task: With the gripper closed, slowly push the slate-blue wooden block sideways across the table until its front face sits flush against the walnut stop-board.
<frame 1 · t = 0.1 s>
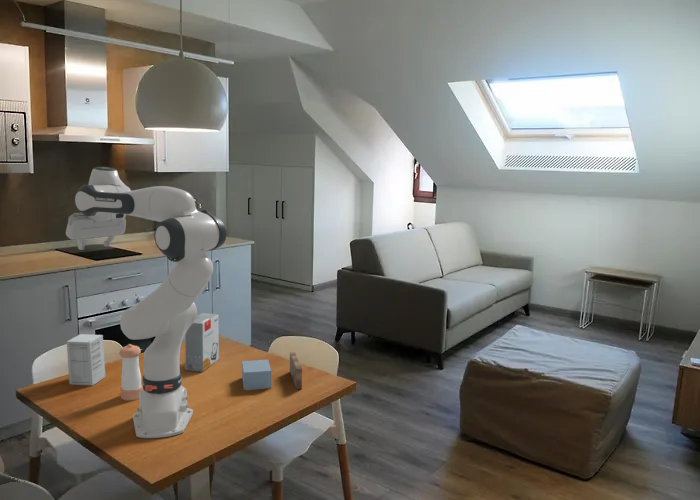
hand: (94, 247, 199), 52 cm above the table, tool tilted 20°, fingers open, 8 cm apart
supplement box: (87, 381, 213), on the table
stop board: (295, 379, 218), on the table
pepper shaker: (132, 396, 200), on the table
slate block: (256, 383, 214), on the table
hard drive box: (202, 365, 231), on the table
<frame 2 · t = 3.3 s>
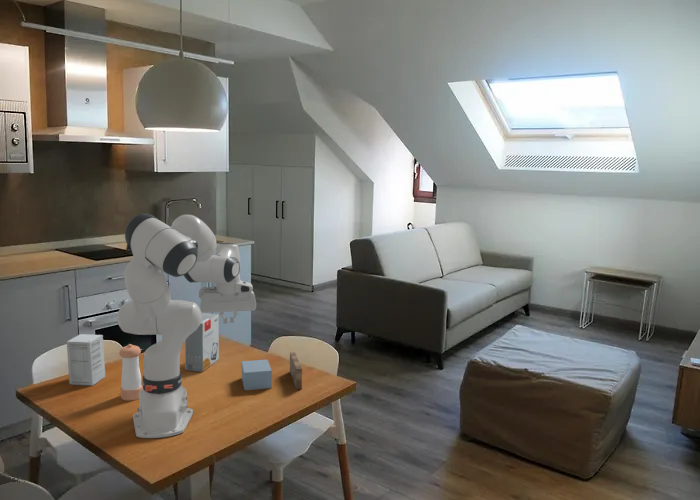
hand: (228, 322, 208), 24 cm above the table, tool pointing down, fingers closed
nothing on the table moved.
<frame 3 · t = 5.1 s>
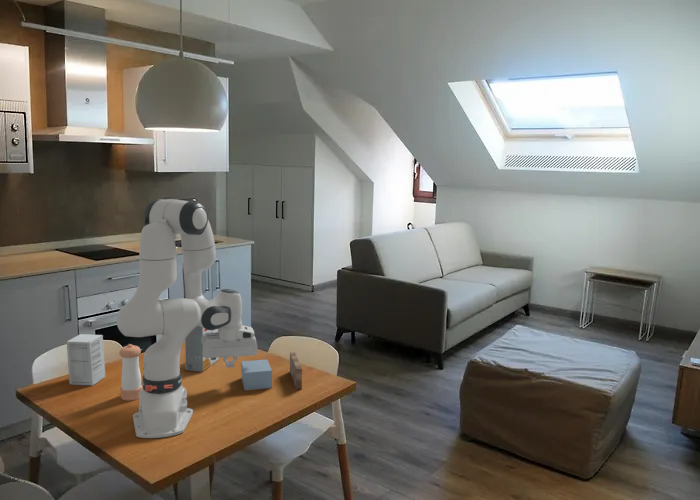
hand: (230, 366, 211), 7 cm above the table, tool pointing down, fingers closed
nothing on the table moved.
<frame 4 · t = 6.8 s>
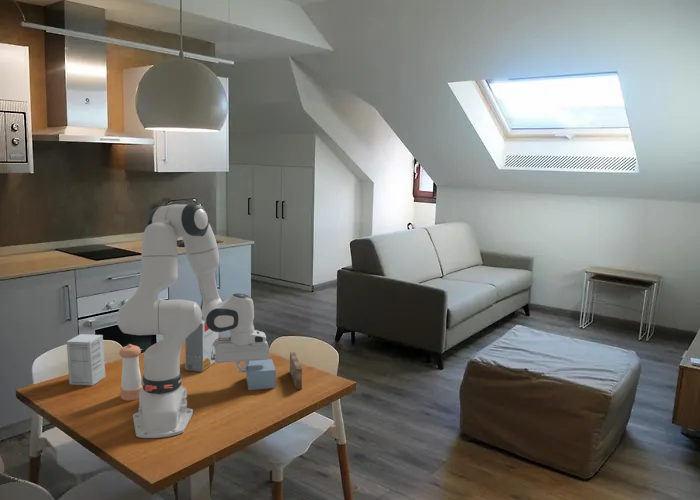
hand: (242, 371, 212), 5 cm above the table, tool pointing down, fingers closed
slate block: (260, 382, 214), on the table, touching gripper
everything else where it was.
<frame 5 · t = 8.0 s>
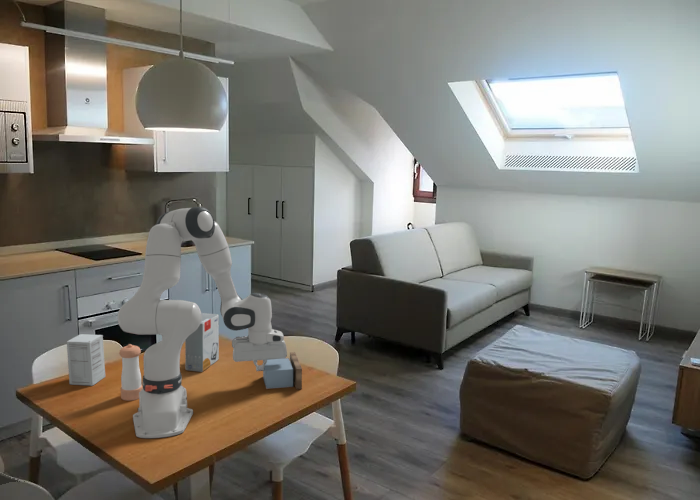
hand: (260, 370, 214), 5 cm above the table, tool pointing down, fingers closed
slate block: (277, 381, 216), on the table, touching gripper
everything else where it was.
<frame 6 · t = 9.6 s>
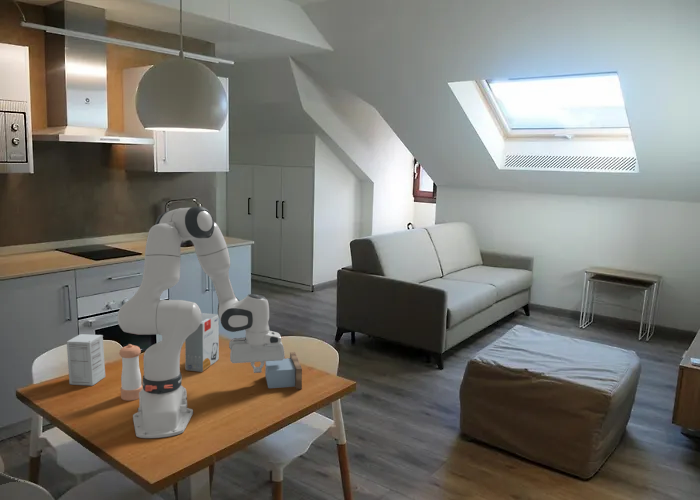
hand: (257, 372, 213), 4 cm above the table, tool pointing down, fingers closed
slate block: (279, 381, 216), on the table
everything else where it was.
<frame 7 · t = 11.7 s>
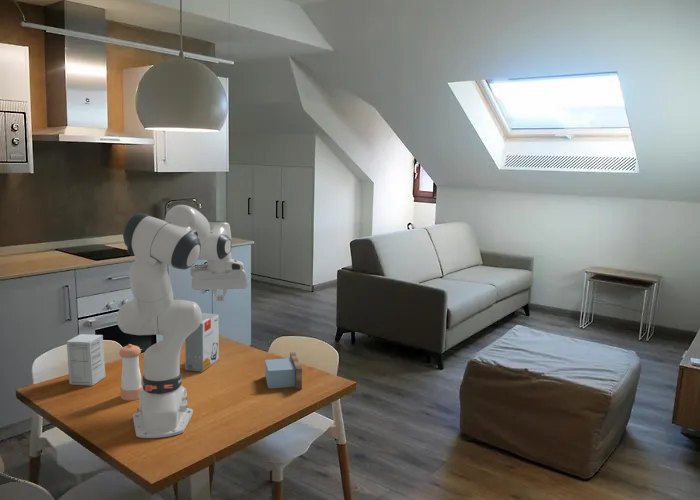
hand: (220, 300, 210), 31 cm above the table, tool pointing down, fingers closed
nothing on the table moved.
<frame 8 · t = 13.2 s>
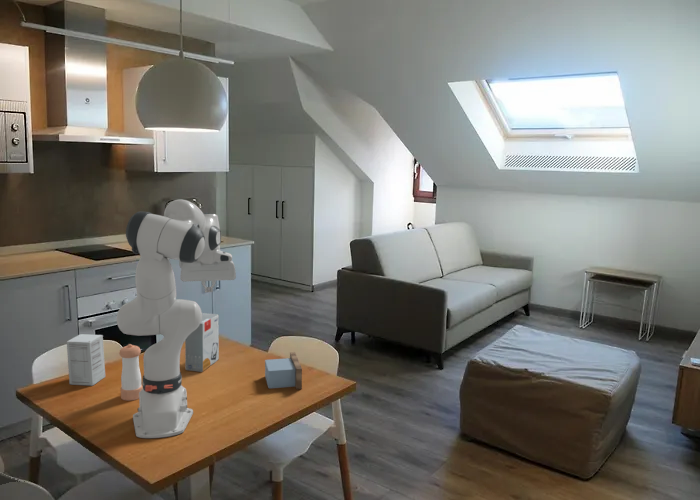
hand: (208, 292, 212), 34 cm above the table, tool pointing down, fingers closed
nothing on the table moved.
at the end: slate block 0.7 cm from the target spot on the table beside the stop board, on the table; slate block tilted 0° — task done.
